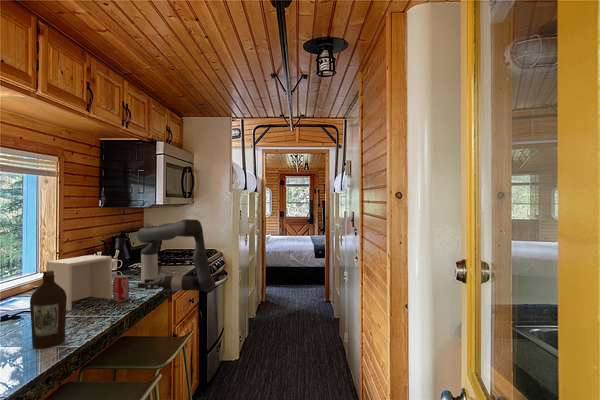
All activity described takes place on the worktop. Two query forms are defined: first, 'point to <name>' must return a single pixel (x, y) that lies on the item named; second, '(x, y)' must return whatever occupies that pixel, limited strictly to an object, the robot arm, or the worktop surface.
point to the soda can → (120, 288)
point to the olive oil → (48, 313)
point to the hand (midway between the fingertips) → (141, 283)
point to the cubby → (83, 277)
